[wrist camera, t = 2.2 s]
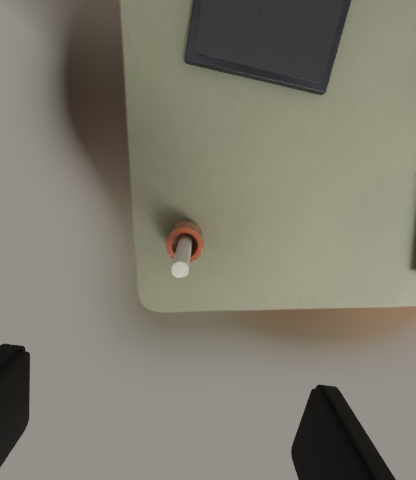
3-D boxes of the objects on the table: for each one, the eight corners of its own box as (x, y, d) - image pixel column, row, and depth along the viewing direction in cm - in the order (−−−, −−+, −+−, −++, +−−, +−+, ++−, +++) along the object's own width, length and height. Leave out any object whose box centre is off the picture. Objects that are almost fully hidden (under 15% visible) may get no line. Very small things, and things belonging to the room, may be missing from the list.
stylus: (178, 241, 30) (169, 276, 20) (181, 229, 29) (172, 260, 20) (191, 243, 30) (187, 280, 20) (193, 232, 30) (190, 263, 20)
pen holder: (168, 248, 30) (163, 259, 27) (173, 217, 30) (169, 224, 26) (198, 253, 31) (198, 265, 27) (204, 223, 30) (205, 231, 26)
